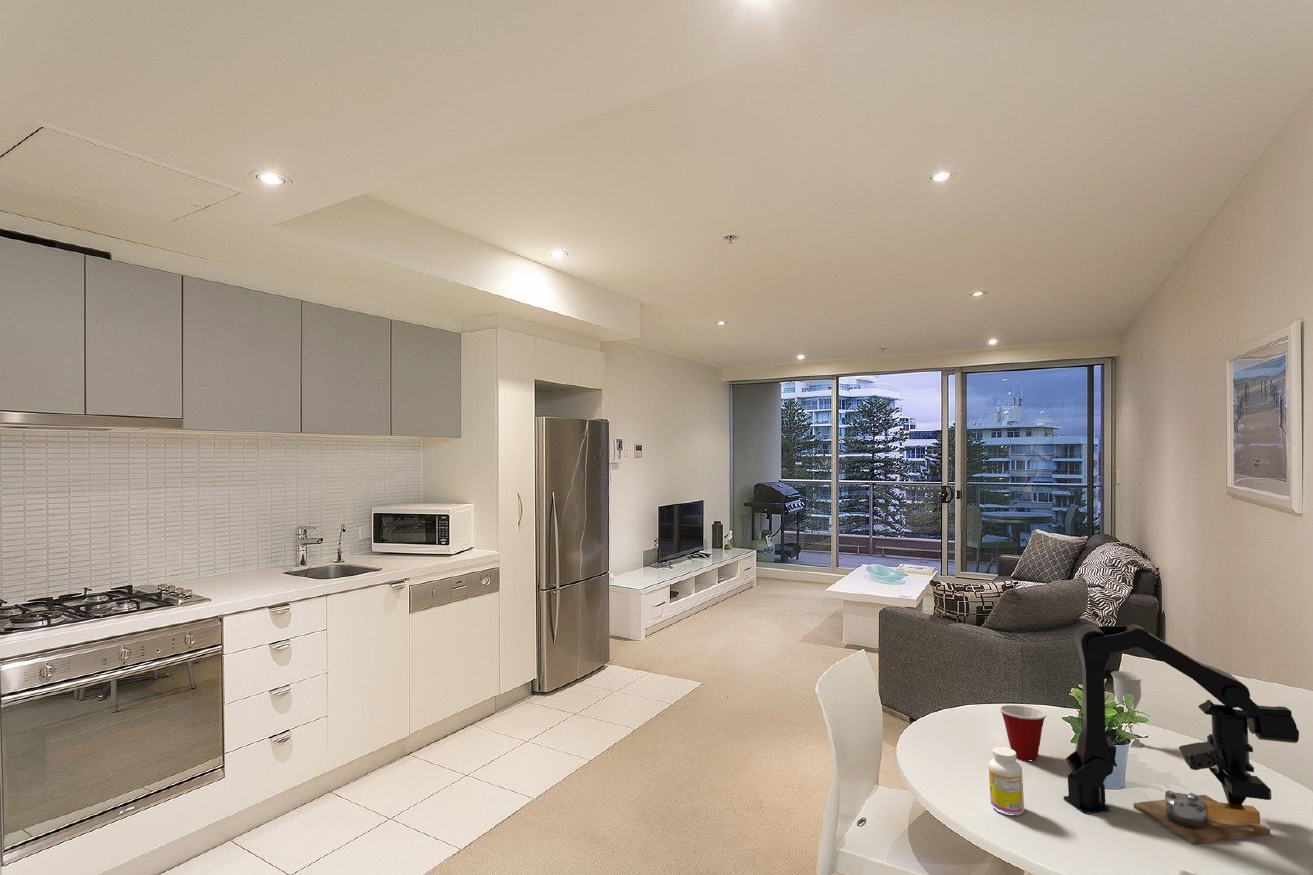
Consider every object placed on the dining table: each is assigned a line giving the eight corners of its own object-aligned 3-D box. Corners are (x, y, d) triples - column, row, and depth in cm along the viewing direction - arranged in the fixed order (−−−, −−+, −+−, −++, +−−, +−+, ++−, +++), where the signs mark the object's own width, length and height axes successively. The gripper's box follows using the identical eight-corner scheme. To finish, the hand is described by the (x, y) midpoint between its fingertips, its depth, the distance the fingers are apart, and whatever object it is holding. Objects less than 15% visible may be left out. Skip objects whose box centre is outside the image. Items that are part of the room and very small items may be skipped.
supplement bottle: (996, 798, 151) (993, 741, 152) (1028, 808, 146) (1025, 750, 147) (986, 809, 147) (983, 751, 147) (1018, 820, 142) (1015, 760, 142)
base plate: (1193, 844, 131) (1193, 839, 131) (1133, 807, 145) (1133, 802, 145) (1270, 834, 134) (1270, 829, 134) (1204, 799, 148) (1204, 794, 148)
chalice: (1107, 738, 180) (1104, 671, 180) (1131, 736, 181) (1127, 670, 181) (1129, 749, 173) (1125, 680, 173) (1153, 747, 173) (1149, 679, 174)
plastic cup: (1049, 752, 173) (1047, 706, 173) (1048, 769, 164) (1045, 720, 164) (1003, 743, 179) (1000, 699, 179) (999, 759, 170) (997, 713, 170)
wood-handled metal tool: (1174, 825, 136) (1172, 804, 136) (1160, 808, 143) (1159, 788, 143) (1267, 837, 131) (1265, 815, 131) (1248, 818, 138) (1247, 797, 138)
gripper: (1167, 713, 149) (1171, 782, 149) (1200, 750, 132) (1204, 828, 132) (1229, 719, 145) (1232, 790, 145) (1270, 758, 128) (1274, 838, 128)
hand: (1233, 810), depth 137 cm, fingers closed
